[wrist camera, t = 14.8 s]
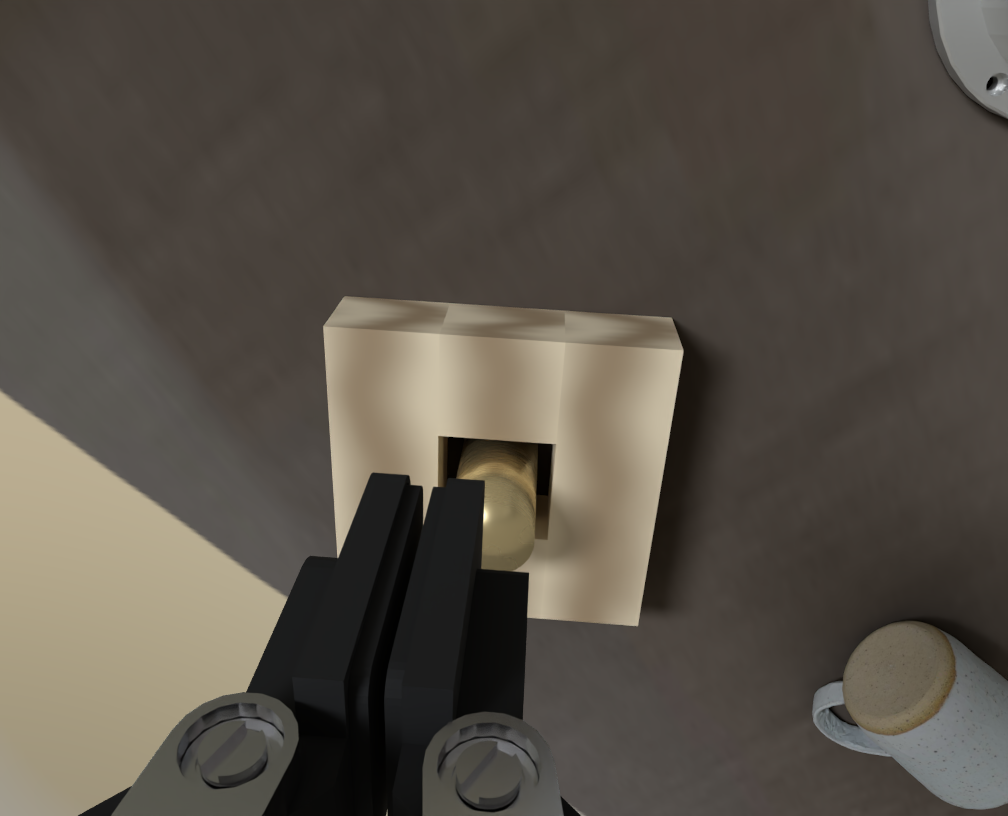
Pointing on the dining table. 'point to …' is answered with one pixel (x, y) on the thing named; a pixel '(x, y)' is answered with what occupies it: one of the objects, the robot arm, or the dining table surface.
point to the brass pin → (504, 498)
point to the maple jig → (516, 426)
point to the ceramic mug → (925, 712)
